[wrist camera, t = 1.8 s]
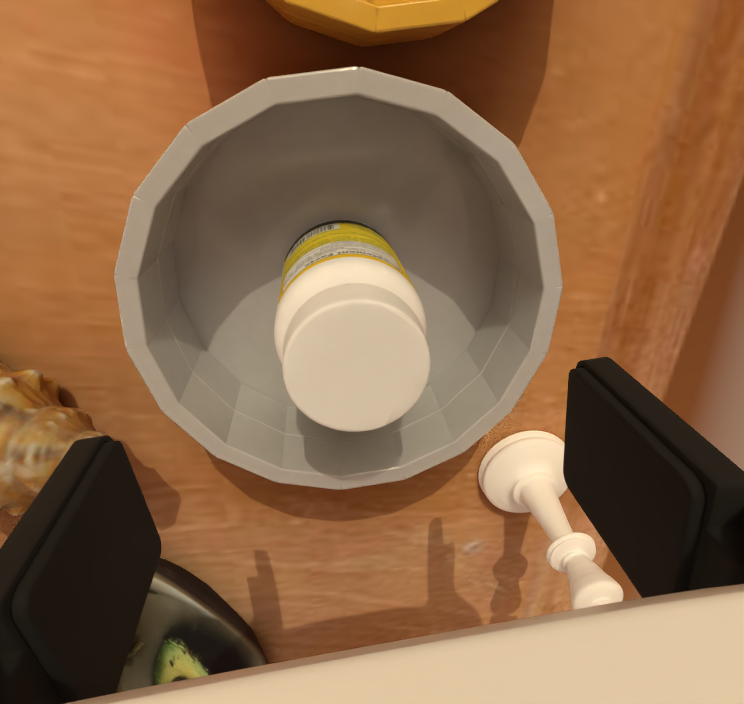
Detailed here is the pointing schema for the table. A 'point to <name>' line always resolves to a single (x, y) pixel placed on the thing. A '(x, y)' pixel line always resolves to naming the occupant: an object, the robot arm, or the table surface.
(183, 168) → the gray round dish
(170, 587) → the salad plate
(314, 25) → the yellow bowl
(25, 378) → the seashell
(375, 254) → the supplement bottle
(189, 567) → the table surface
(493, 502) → the chess piece
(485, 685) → the robot arm
